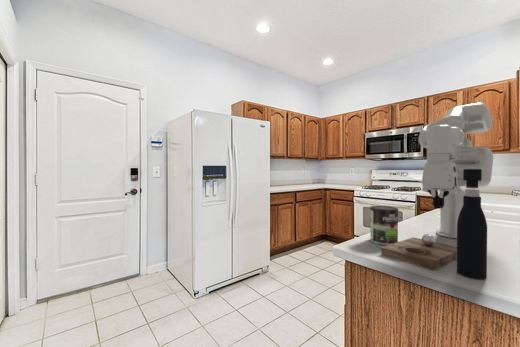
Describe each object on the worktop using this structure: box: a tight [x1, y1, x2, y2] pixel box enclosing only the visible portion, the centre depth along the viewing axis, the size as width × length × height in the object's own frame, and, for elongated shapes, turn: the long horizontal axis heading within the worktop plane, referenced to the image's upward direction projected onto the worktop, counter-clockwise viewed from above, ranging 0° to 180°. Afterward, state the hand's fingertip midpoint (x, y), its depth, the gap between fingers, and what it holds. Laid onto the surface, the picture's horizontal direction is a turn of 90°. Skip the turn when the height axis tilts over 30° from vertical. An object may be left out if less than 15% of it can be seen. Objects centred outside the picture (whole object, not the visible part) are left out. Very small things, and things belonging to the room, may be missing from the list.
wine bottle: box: [456, 169, 488, 280], centre depth 68 cm, size 6×6×30 cm
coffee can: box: [369, 205, 399, 246], centre depth 99 cm, size 10×10×14 cm
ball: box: [421, 233, 436, 246], centre depth 86 cm, size 4×4×4 cm
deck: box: [380, 237, 457, 271], centre depth 84 cm, size 22×16×2 cm
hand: (438, 207), depth 90 cm, fingers closed
